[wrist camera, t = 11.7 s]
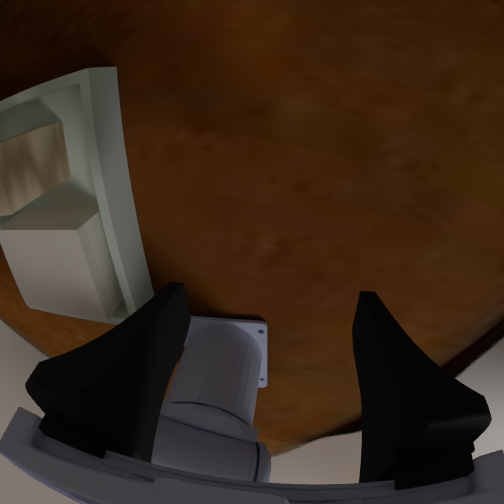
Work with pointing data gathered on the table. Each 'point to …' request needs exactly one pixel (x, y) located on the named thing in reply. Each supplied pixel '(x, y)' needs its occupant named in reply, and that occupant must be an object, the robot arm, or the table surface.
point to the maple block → (31, 166)
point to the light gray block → (62, 261)
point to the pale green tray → (89, 167)
